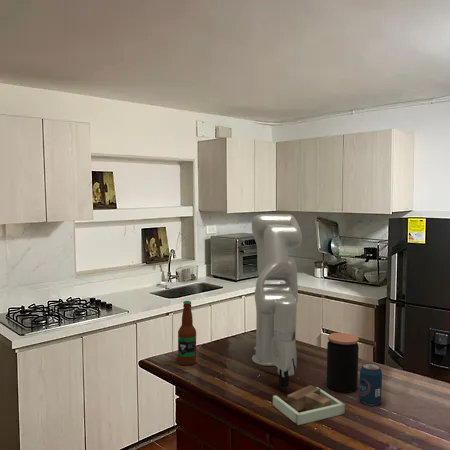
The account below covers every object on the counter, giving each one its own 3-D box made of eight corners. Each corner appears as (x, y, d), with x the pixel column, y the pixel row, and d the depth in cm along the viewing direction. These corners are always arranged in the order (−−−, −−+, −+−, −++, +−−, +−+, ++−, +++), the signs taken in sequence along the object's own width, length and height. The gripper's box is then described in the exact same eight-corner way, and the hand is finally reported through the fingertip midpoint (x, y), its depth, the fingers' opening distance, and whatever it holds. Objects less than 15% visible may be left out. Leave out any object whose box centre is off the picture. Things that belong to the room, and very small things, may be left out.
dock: (272, 405, 147) (272, 395, 146) (316, 395, 154) (317, 386, 154) (297, 425, 134) (298, 415, 134) (344, 413, 141) (344, 404, 141)
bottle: (174, 363, 182) (174, 302, 180) (185, 358, 188) (185, 298, 186) (188, 367, 178) (188, 304, 176) (199, 361, 184) (200, 301, 182)
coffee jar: (351, 380, 167) (353, 332, 165) (361, 393, 156) (363, 342, 155) (323, 380, 166) (324, 332, 165) (330, 393, 156) (332, 342, 154)
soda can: (354, 399, 152) (355, 363, 151) (370, 395, 154) (372, 361, 154) (369, 408, 145) (370, 371, 144) (385, 404, 148) (387, 368, 147)
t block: (287, 407, 145) (287, 395, 145) (310, 396, 153) (310, 385, 153) (315, 420, 137) (315, 407, 137) (338, 408, 145) (338, 395, 145)
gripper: (264, 329, 161) (263, 379, 162) (287, 343, 147) (286, 397, 149) (282, 327, 164) (281, 376, 166) (306, 340, 150) (305, 393, 152)
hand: (283, 386), depth 157 cm, fingers closed
